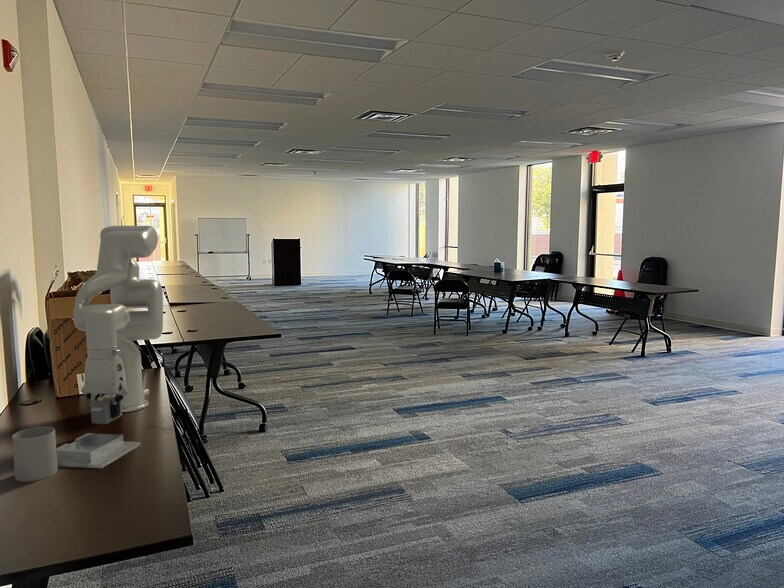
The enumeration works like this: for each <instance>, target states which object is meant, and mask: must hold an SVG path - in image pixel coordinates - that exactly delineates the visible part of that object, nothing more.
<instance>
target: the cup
mask: <svg viewBox="0 0 784 588" xmlns="http://www.w3.org/2000/svg"><path fill="white" fill-rule="evenodd" d="M11 437H12V438H11V439H12V440H11V441H12V451H13V455H12V456H13V465H14V479H15V480H16V481H17V482H21V483H22V482H35V481H41V480H44V479H47V478H50V477H52V476H54V475H55V474H57V473H58V471H59V470H58V466H57V453H56V448H57V442H56V429H55V428H54V427H52V426H51V427H50V426H36V427H31V428H26V429H23V430H19V431H17V432H15V433H14V434H12V436H11Z"/></svg>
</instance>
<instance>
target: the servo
mask: <svg viewBox="0 0 784 588" xmlns="http://www.w3.org/2000/svg"><path fill="white" fill-rule="evenodd" d="M115 397H116V396H115ZM89 403H90V405H89V406H90V417H91V423H92V424H100V425H101V424H103V425H107V424H109V423H111V422H112V421H114V420H116V419H119V418H120V417H122V416H123V412H122V403H121V402H120V415H119V416H118V417H116V418H114V419H112V418H111V409H110V405H112V402H111V398H110V395H109V394H103V396H102V395H101V397H98V399H96V400H94V401H92V402H89Z"/></svg>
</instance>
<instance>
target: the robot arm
mask: <svg viewBox="0 0 784 588" xmlns="http://www.w3.org/2000/svg"><path fill="white" fill-rule="evenodd" d="M99 236H100V237H99V238H100V242H99V243H100V244H99V251H98V259H97V266H96V272H95V273H94V274H93V275H92V276H91V277H90V278H89V279H87V280H86V281H85V282H83V285H82V286H81V287H80V288H79V290H78V291H77V293H76V296H75V301H74V307H73V325H74V326H75V329H77V330H79V331H82V332H85V335H86V349H87V353H86V354H87V358H86V359H85V363H84V364H85V365H84V384H83V386H82V388H81V390H80V392H81V393H82V394H83V395H85V396H86V398H87V399H89V401H90V402H92V401H94V400H96V399H98V397H101V396H102V395H106V394H109V395H110V398H111V402H112V405H110V409H111V418H112V419H114V418H116V417H118V416H119V415H120V402H121V403H122V413H128V412H129V413H130V412H135V411H139V410H142V409H145V408H146V407H148V406H149V400H148V399H145V396H148V395H149V394H150V390H149V389H148V388H145V389H143V373H142V355H141V350H139V348H138V347H137V346H136V344H135V343H134V342H135V341H148V340H150V341H152V340H157V339H159V338H160V337H162V334H163V330H164V329H163V328H164V327H163V326H164V294H163V288H162V285H161V283H160V282H159V281H158V280H156V279H152V278H150V279H149V278H146V279H145V278H144V279H143V278H142V279H140V266H139V264H138V263H137V261H136V259H140V258H141V259H145V258H149V257H150V256H151V255H152V254H153V252H154V251H155V250H156V248H157V245H158V239H159V237H158V232H157V230H156V229H155V228H154V227H153V226H152V225H112V226H111V225H110V226H106V227H104V228H102V229H101V231H100V233H99ZM108 290H109V291H110V293H109V294H110V295H109V296H110V303H107V304H106V303H105V304H103V303H101V304H99V303H98V304H97V303H95V304H90V302H91V301H92V299H93V298H95V297H96V296H97V295H100V294H101V293H103V292H105V291H108ZM129 309H147V310H138V311H137V310H129ZM115 396H116V397H115ZM90 402H89V403H90ZM118 418H119V417H118Z"/></svg>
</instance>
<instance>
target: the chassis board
mask: <svg viewBox="0 0 784 588" xmlns="http://www.w3.org/2000/svg"><path fill="white" fill-rule="evenodd" d="M124 439H125V438H124V434H118V433H117V434H115V433H112V434H111V433H94V432H92V433H91V432H87V433H85V434H83V435H81V436H79V437H76V438H74V441H73V442H71V443H64V444H63V445H60V446H58V447H56V453H57V467H68V468H81V469H82V468H85V469H87V468H88V469H103V468H104V467H106V466H108V465H110V464H111V463H113V462H114V461H116V460H118V459H120V458H122V457H123V456H125V455H127V454H128V453H130V452H131V451H133V450H135V449H137V448H138V447H140V446H141V445H142V444H141V442H140V441H127V440H126V441H125V440H124Z"/></svg>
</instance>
